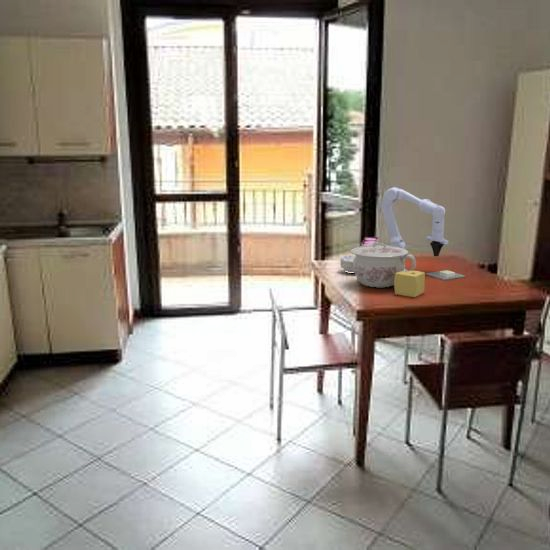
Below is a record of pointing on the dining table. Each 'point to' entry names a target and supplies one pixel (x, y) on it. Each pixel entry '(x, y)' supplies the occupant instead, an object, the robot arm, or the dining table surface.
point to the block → (447, 273)
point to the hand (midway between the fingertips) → (436, 256)
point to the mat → (436, 275)
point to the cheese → (409, 283)
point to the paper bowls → (347, 263)
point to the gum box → (369, 241)
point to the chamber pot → (379, 264)
